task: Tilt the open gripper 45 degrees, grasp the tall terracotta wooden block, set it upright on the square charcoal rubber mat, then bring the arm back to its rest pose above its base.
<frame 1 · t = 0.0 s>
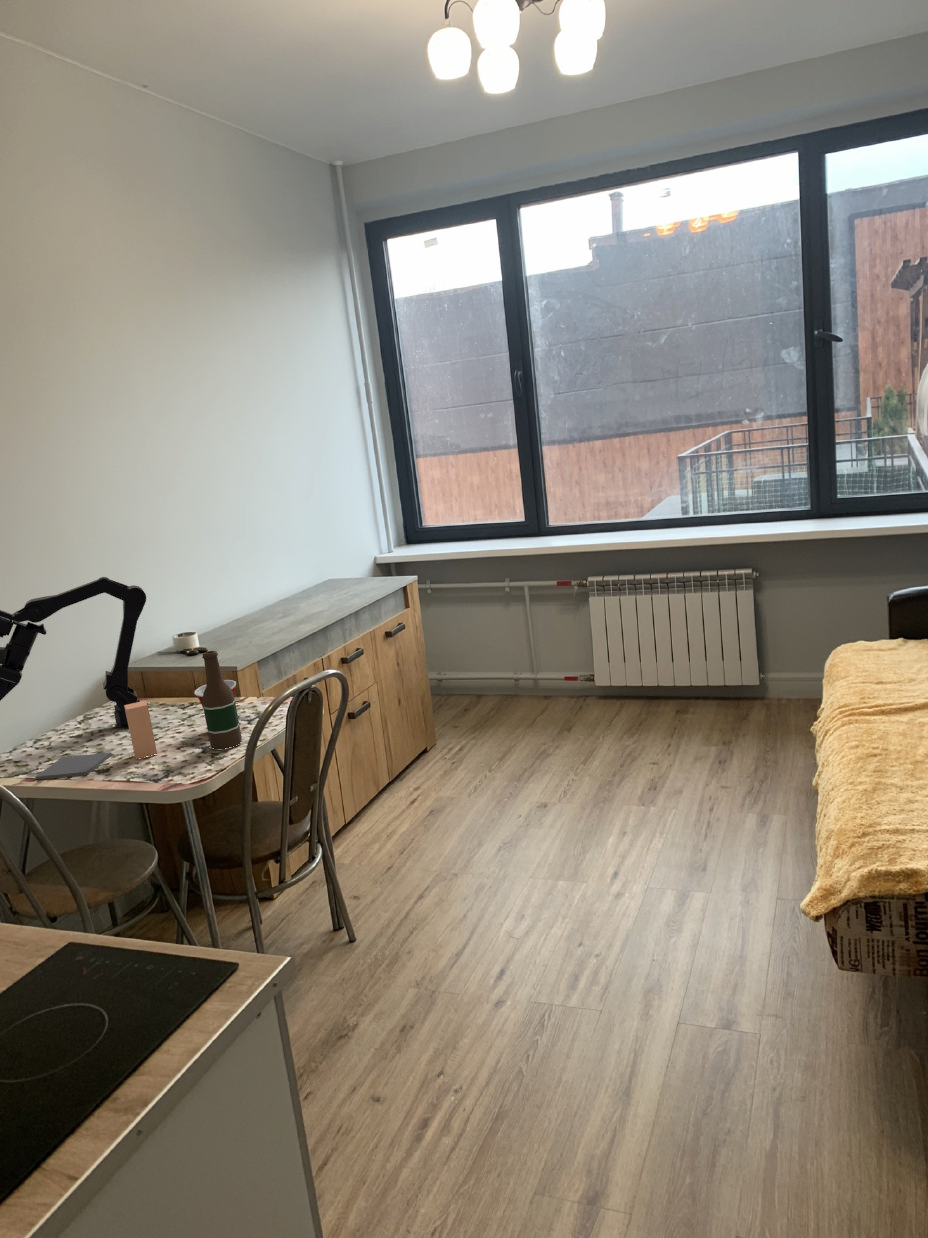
plastic cup: (223, 730, 245), on the table
mat: (74, 767, 229), on the table
block: (146, 754, 232), on the table
beer bottle: (227, 746, 231), on the table
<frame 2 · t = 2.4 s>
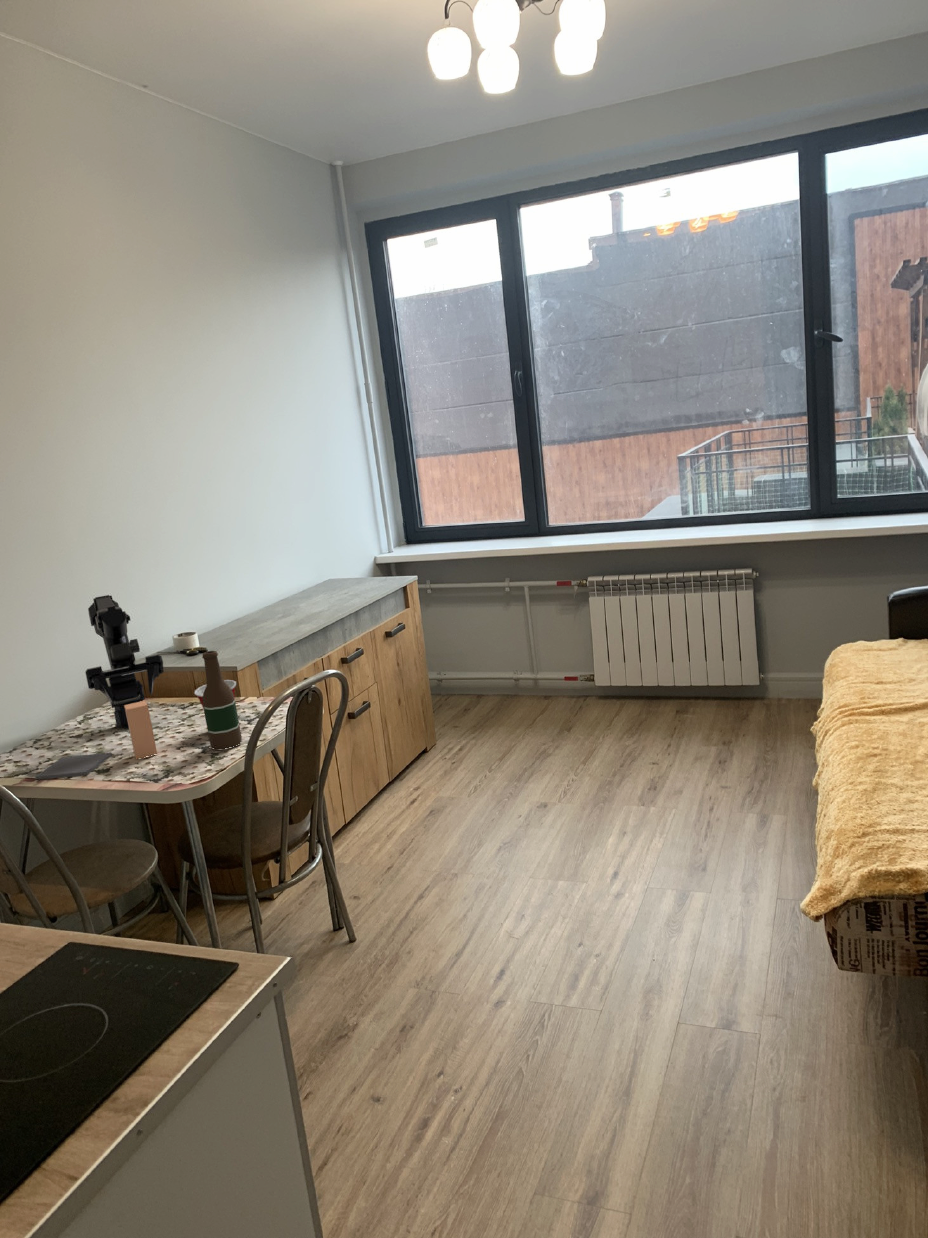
hand: (132, 698, 236), 13 cm above the table, tool tilted 45°, fingers open, 9 cm apart
nothing on the table moved.
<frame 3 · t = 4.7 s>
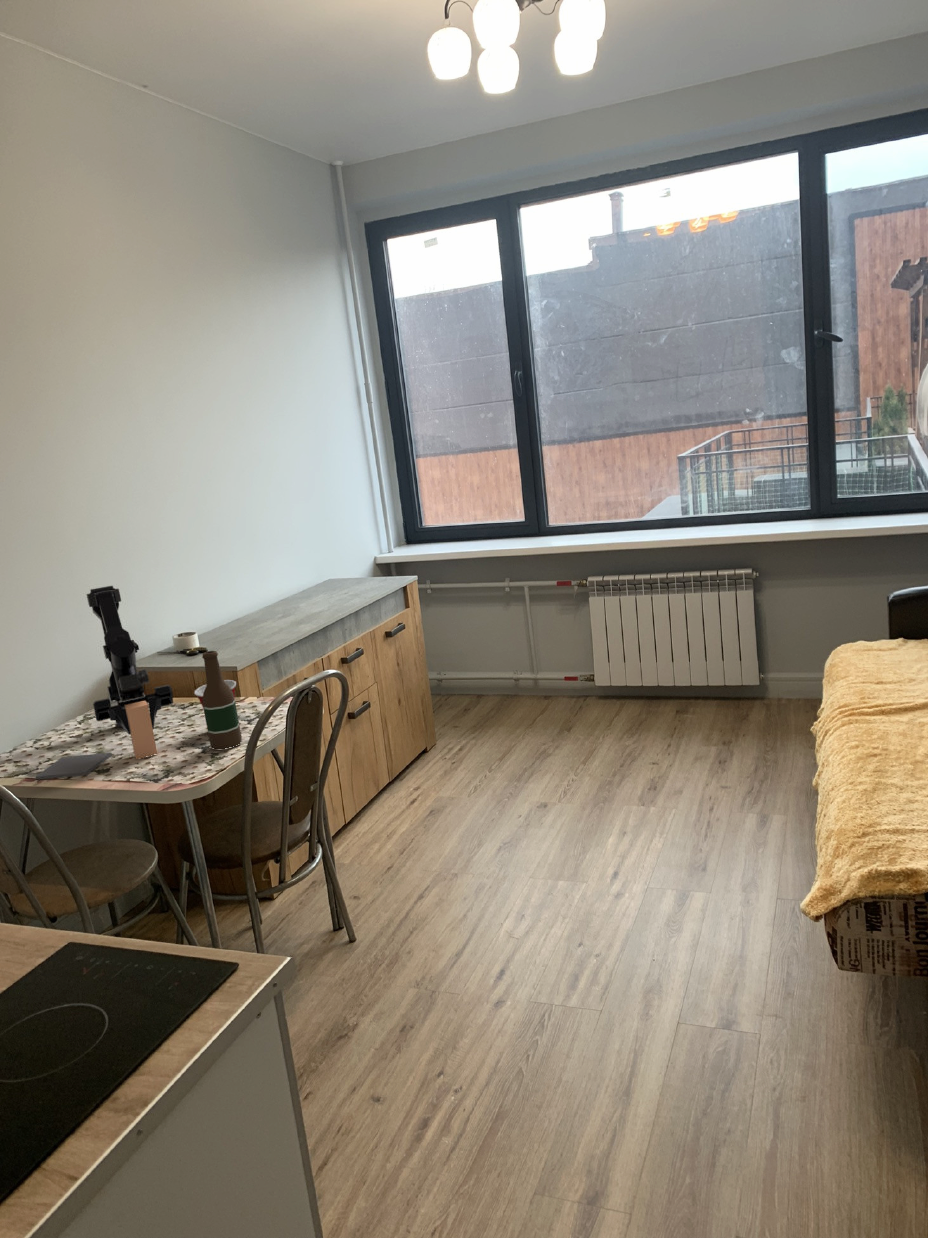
hand: (141, 730, 229), 7 cm above the table, tool tilted 45°, fingers closed on block, 5 cm apart
block: (145, 754, 232), on the table, touching gripper
everything else where it was.
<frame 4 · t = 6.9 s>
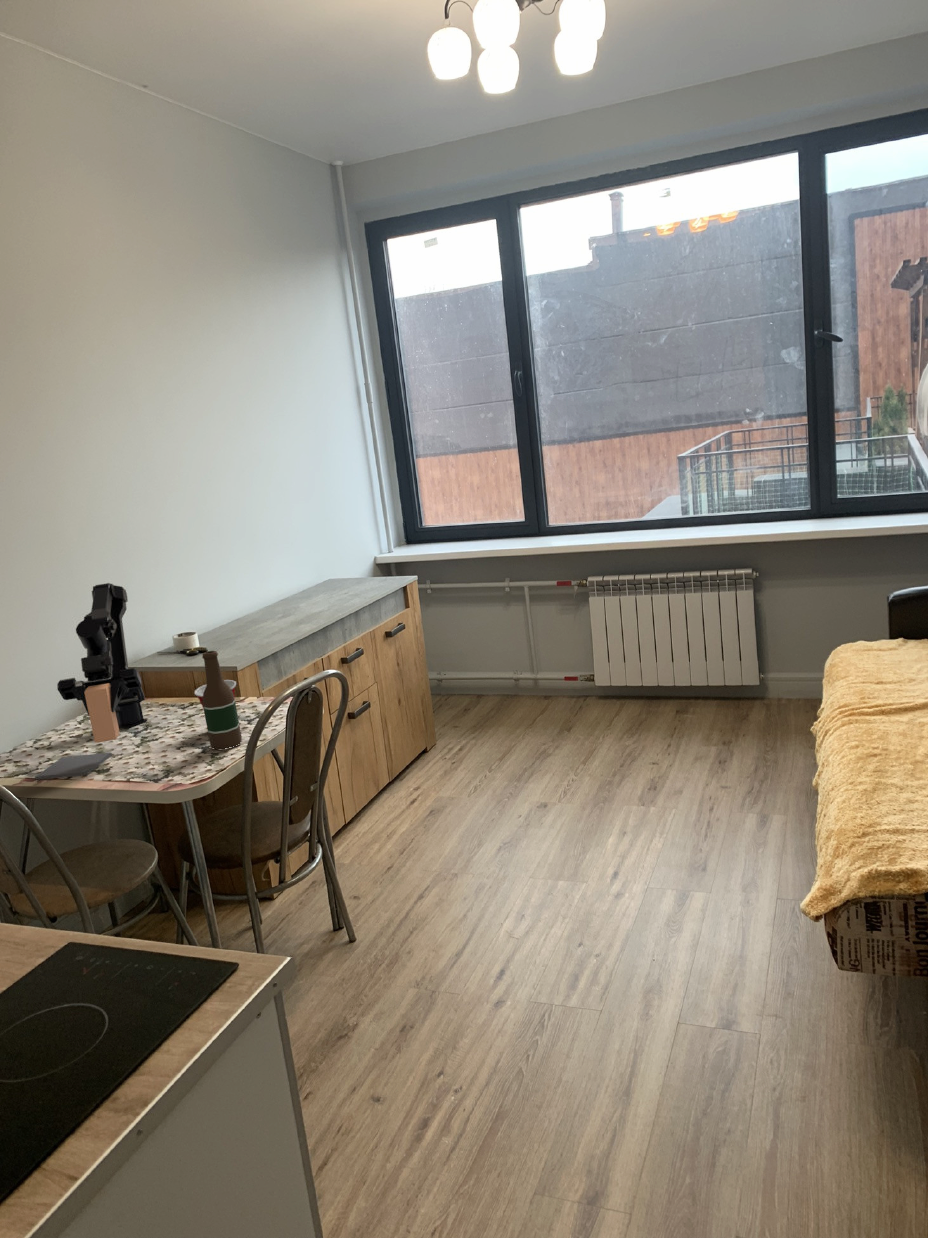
hand: (101, 713, 226), 13 cm above the table, tool tilted 45°, fingers closed on block, 5 cm apart
block: (107, 737, 228), point 6 cm above the table, touching gripper
everything else where it was.
when the fingers open (9 cm above the table, at t = 8.9 s): block drops 1 cm, resting on mat.
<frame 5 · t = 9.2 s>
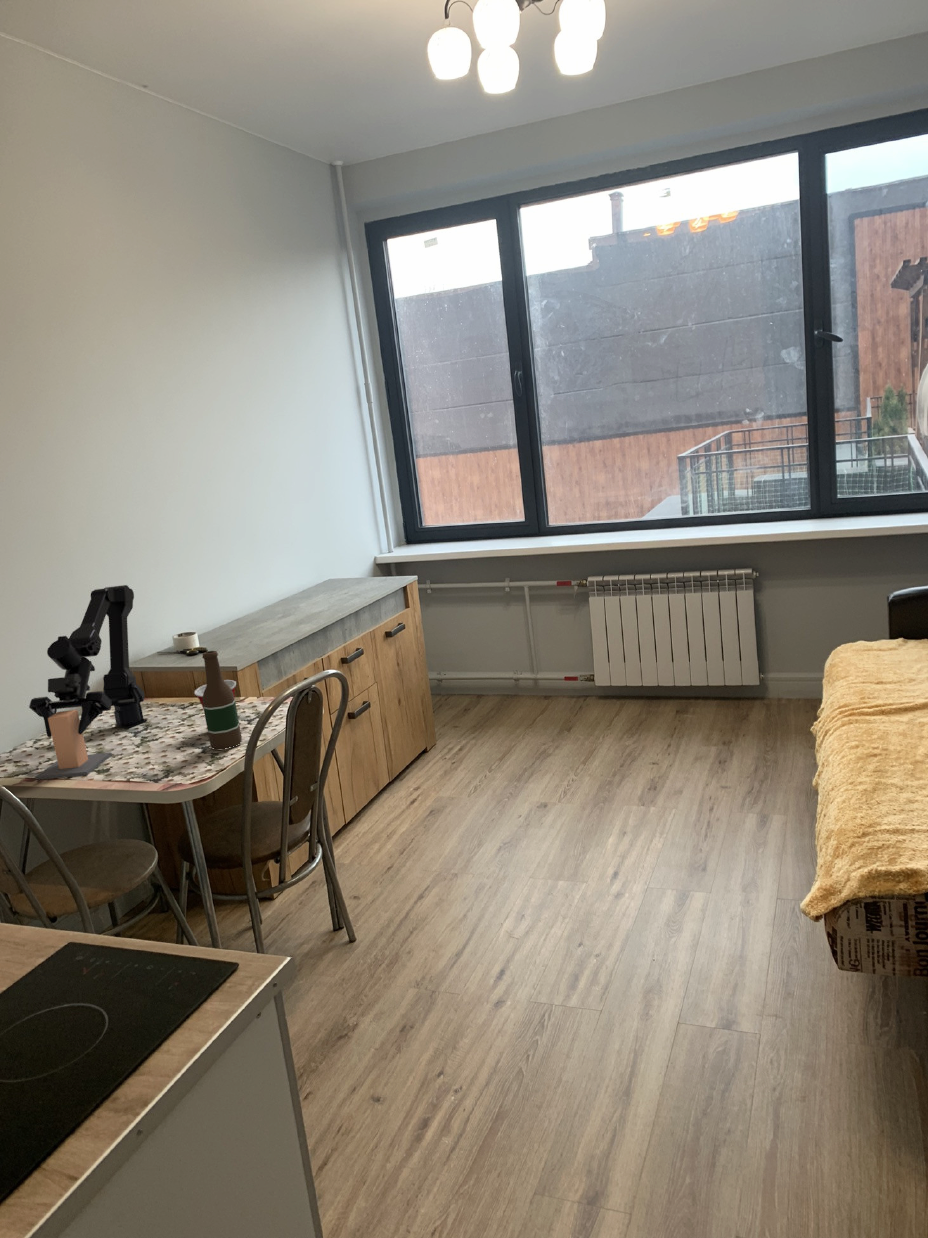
hand: (64, 735, 226), 9 cm above the table, tool tilted 45°, fingers open, 8 cm apart
block: (73, 764, 229), point 1 cm above the table, touching mat
everything else where it was.
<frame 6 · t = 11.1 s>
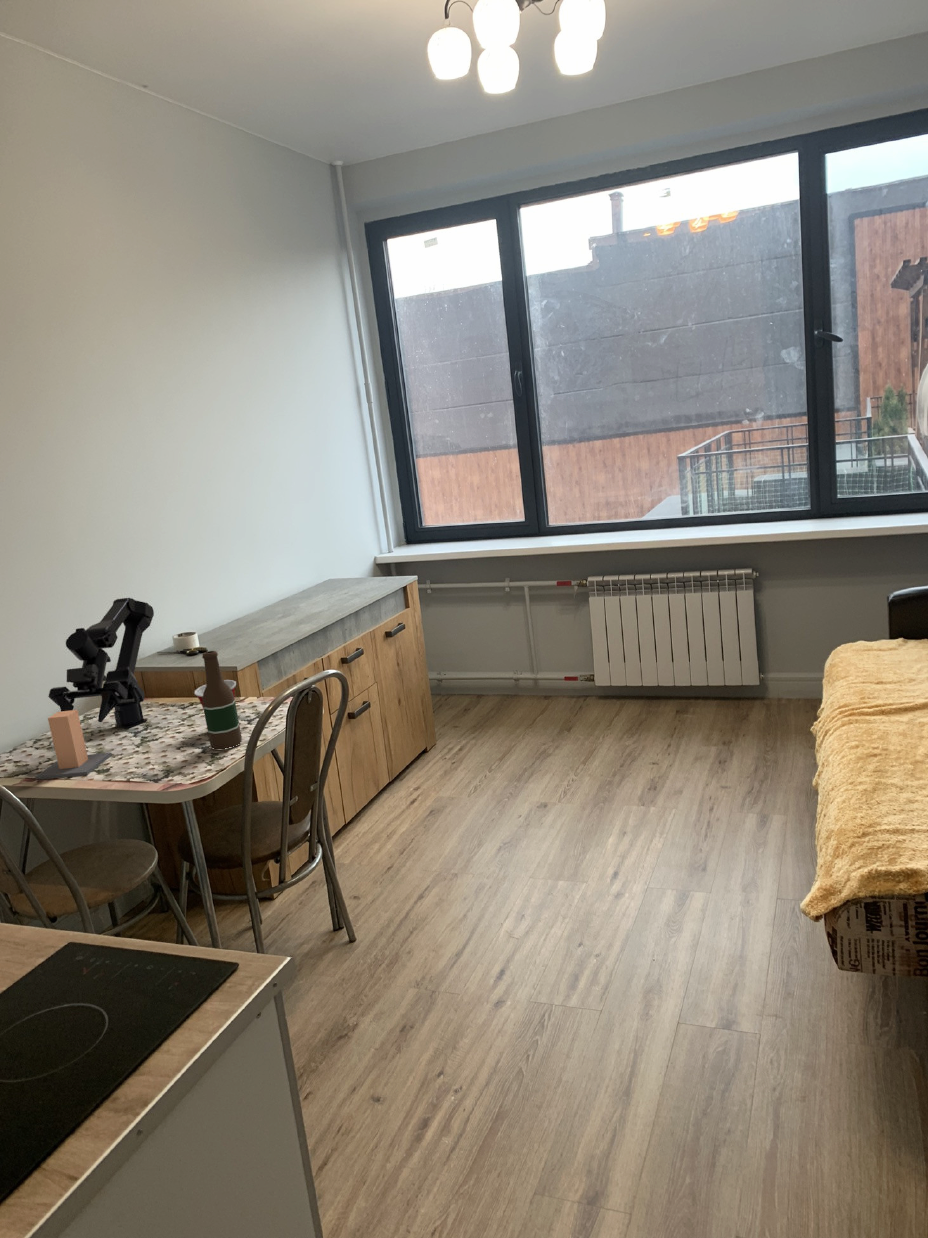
hand: (82, 723, 235), 9 cm above the table, tool tilted 45°, fingers open, 9 cm apart
nothing on the table moved.
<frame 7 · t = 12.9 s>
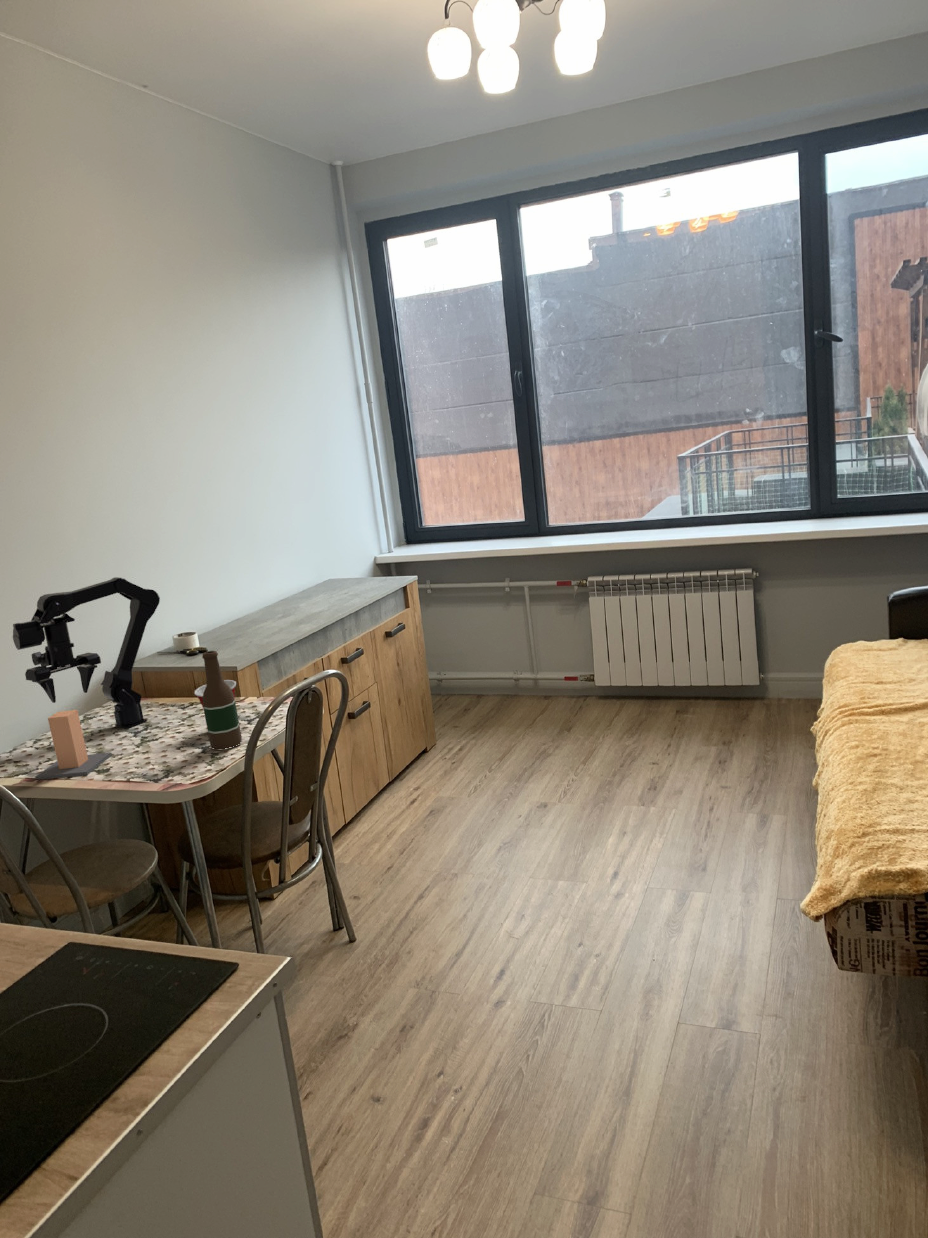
hand: (70, 697, 250), 12 cm above the table, tool pointing down, fingers open, 9 cm apart
nothing on the table moved.
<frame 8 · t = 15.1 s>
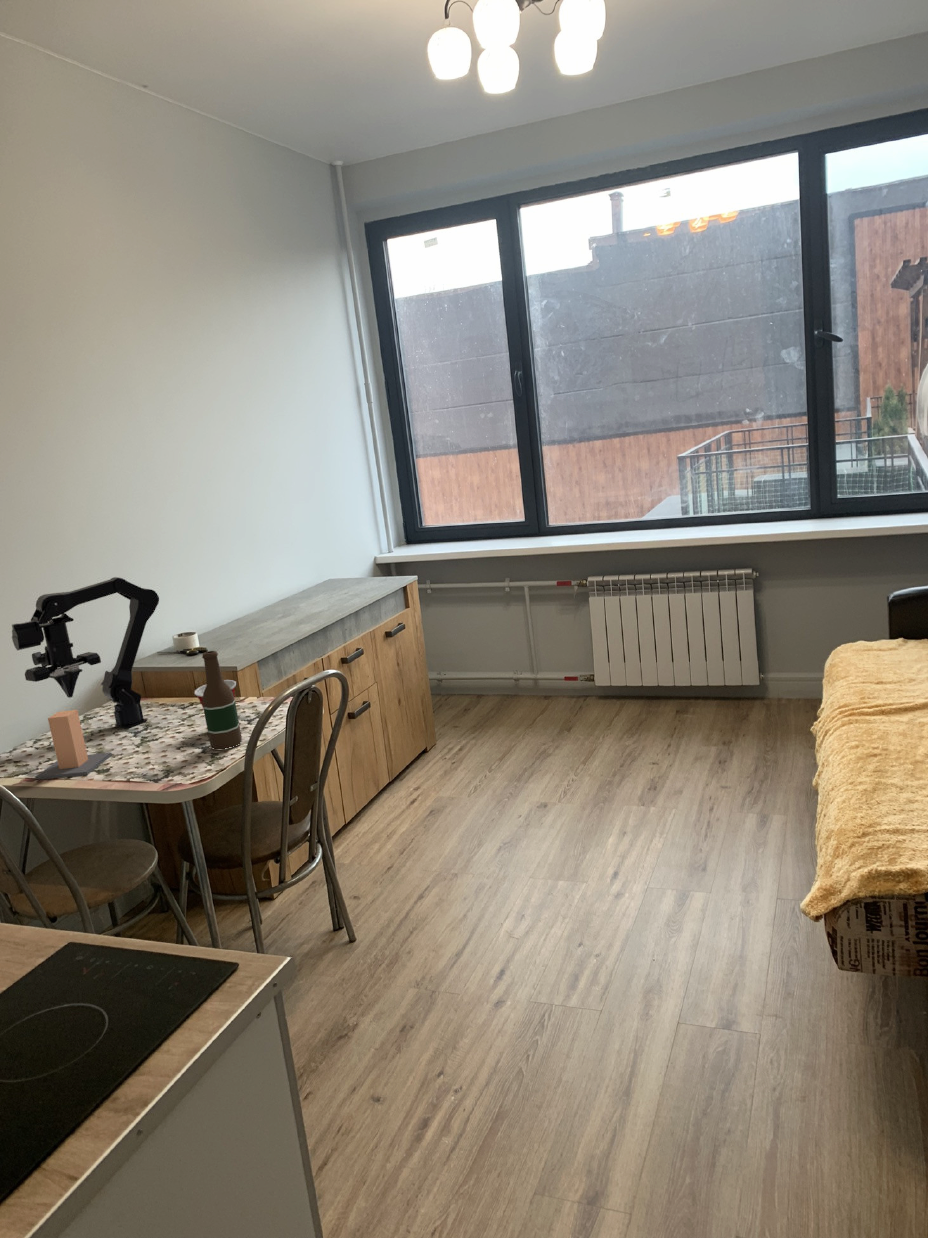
hand: (70, 697, 250), 12 cm above the table, tool pointing down, fingers closed
nothing on the table moved.
at the end: block inside the target area on the mat (0.0 cm from its centre), point 0.8 cm above the mat's base; block tilted 0°; the gripper is holding nothing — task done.
